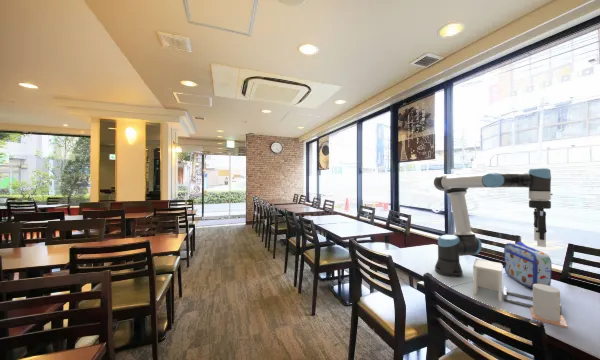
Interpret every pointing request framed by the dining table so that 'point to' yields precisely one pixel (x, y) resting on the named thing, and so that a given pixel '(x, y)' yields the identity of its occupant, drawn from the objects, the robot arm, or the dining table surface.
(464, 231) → the robot arm
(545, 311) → the cup
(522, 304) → the frame
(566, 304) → the dining table surface
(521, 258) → the lunch box
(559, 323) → the coaster
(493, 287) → the shelf
